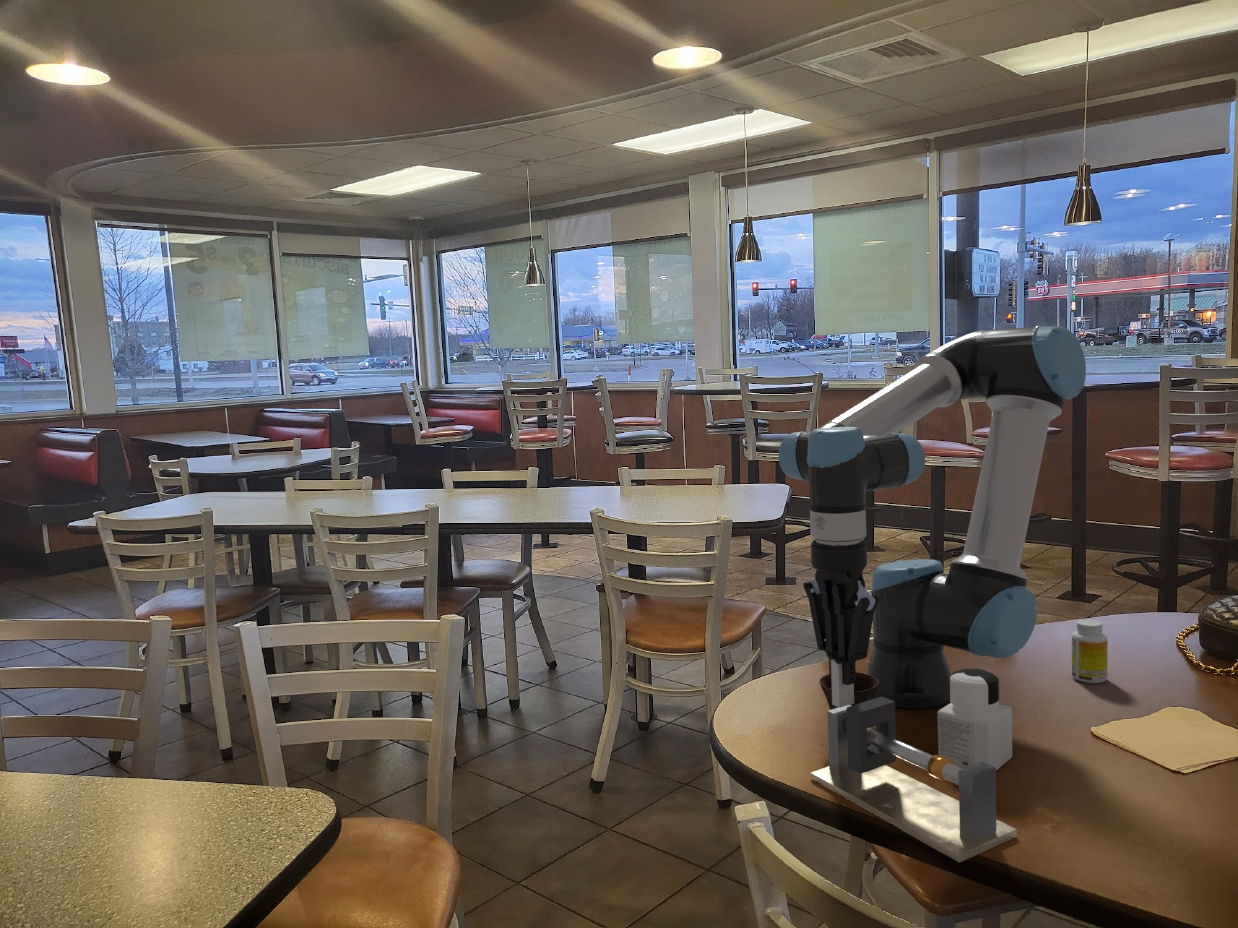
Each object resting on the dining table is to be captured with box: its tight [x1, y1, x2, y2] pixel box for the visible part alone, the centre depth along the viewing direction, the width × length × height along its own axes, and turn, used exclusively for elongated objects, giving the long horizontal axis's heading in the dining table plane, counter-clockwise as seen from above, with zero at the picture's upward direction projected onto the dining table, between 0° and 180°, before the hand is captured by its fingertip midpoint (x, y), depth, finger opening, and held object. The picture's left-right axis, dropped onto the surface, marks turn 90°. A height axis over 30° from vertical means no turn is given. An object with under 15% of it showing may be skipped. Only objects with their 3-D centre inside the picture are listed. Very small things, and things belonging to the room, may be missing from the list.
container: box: [937, 668, 1013, 771], centre depth 132 cm, size 8×8×13 cm
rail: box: [810, 705, 1018, 863], centre depth 120 cm, size 26×10×10 cm, turn 29°
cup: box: [818, 671, 879, 710], centre depth 141 cm, size 9×9×10 cm
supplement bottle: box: [1071, 619, 1108, 685], centre depth 160 cm, size 6×6×10 cm
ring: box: [846, 697, 897, 774], centre depth 125 cm, size 2×6×8 cm, turn 119°
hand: (843, 703), depth 129 cm, fingers closed
